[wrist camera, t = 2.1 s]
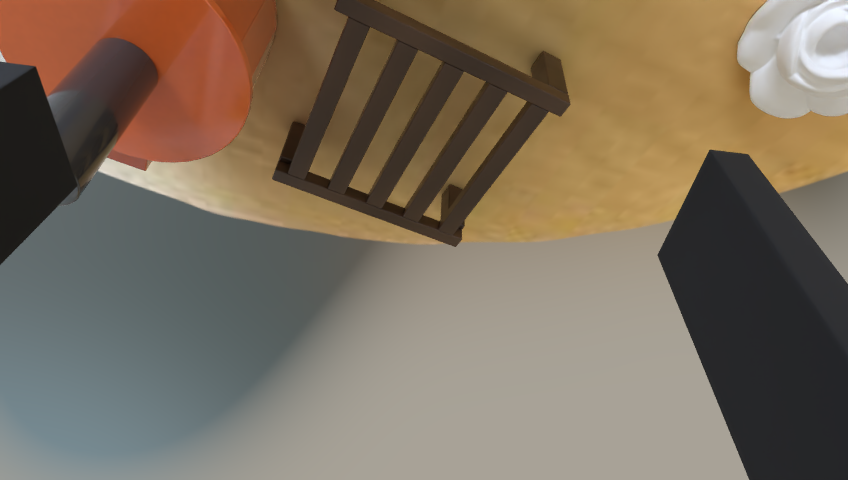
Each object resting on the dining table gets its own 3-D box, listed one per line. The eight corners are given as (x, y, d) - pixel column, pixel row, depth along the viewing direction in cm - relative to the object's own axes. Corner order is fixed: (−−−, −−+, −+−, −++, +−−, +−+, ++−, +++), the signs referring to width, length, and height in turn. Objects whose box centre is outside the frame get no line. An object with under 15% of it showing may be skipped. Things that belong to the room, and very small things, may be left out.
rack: (288, 134, 41) (271, 179, 37) (354, -46, 31) (340, -8, 28) (456, 201, 45) (455, 247, 41) (561, 59, 35) (571, 104, 32)
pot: (79, 69, 37) (17, 136, 32) (82, -218, 26) (-12, -183, 21) (246, 133, 41) (214, 204, 36) (313, -97, 29) (281, -41, 24)
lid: (11, 98, 31) (-111, 221, 25) (-11, -133, 23) (-206, -41, 16) (231, 177, 35) (176, 303, 28) (282, 2, 26) (220, 124, 20)
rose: (853, 162, 34) (718, 120, 33) (822, 120, 37) (697, 79, 36) (1025, 12, 27) (863, -53, 25) (969, -26, 30) (821, -85, 28)
